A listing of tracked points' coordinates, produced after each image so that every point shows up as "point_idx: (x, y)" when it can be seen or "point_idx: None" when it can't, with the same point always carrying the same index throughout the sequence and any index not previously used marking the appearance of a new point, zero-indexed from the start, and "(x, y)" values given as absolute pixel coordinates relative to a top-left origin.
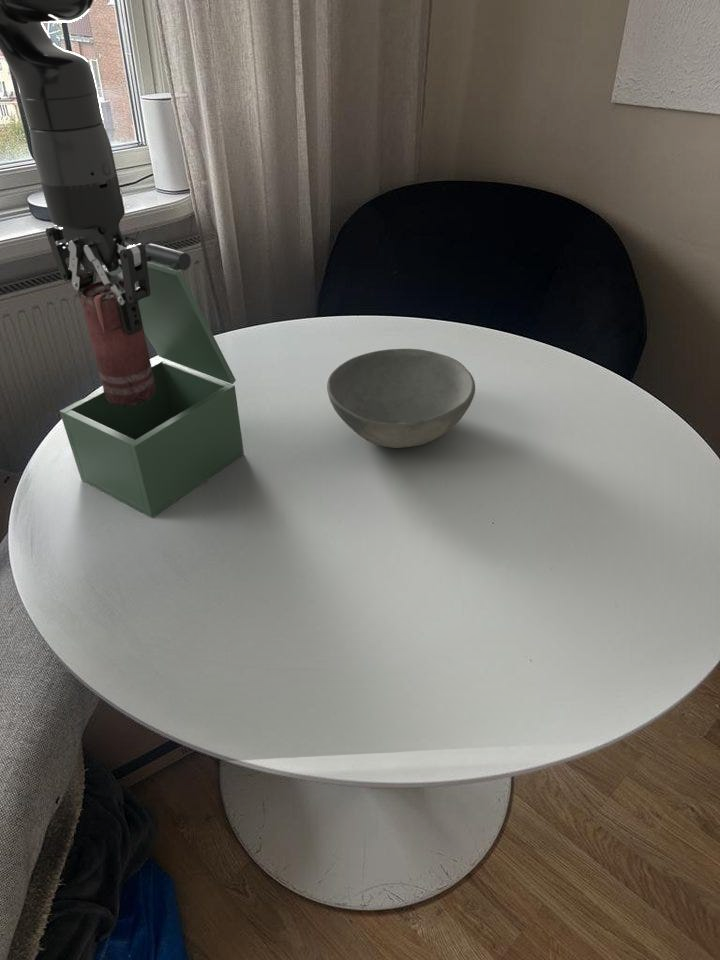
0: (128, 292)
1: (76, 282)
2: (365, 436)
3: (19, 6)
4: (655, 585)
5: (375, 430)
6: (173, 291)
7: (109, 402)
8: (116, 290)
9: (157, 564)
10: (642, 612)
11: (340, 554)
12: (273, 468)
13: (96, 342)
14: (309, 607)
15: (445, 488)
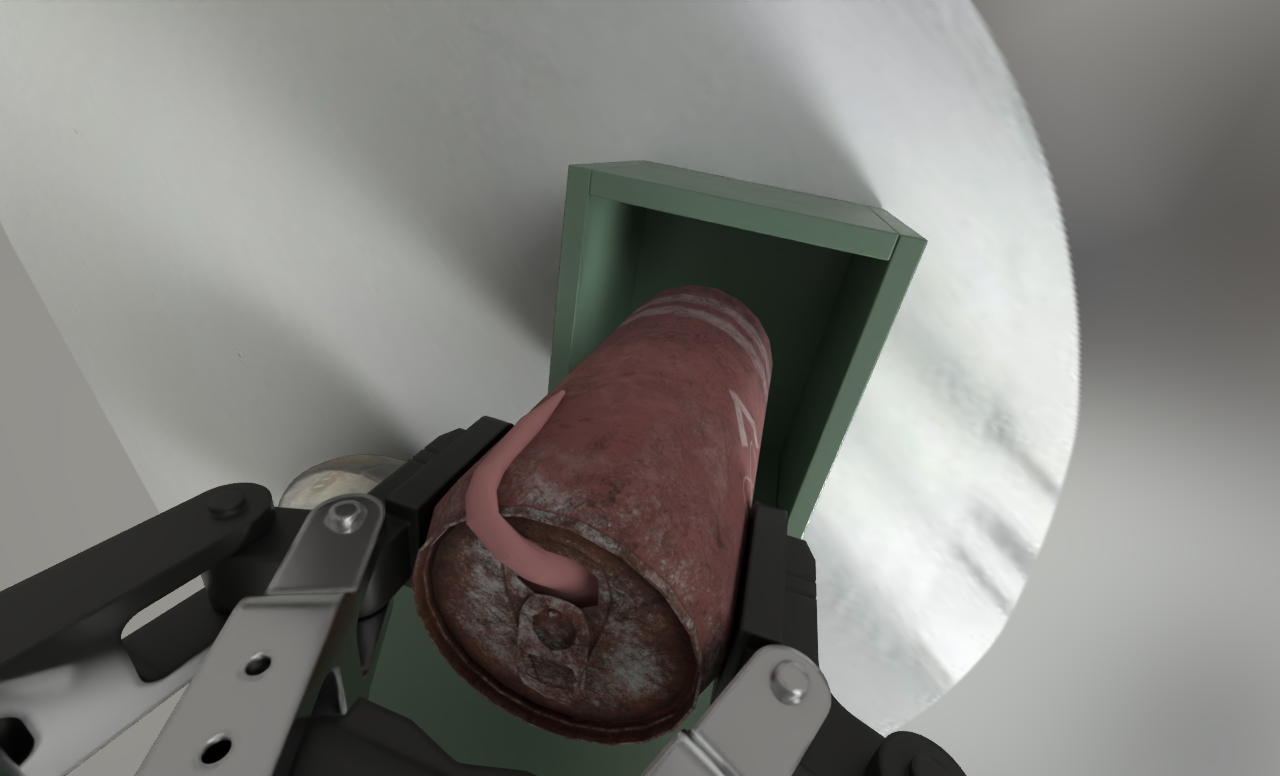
0: (185, 530)
1: (762, 697)
2: (398, 460)
3: None
4: (83, 309)
5: (356, 460)
6: (376, 674)
7: (835, 376)
8: (300, 561)
9: (546, 37)
10: (65, 262)
11: (330, 216)
12: (536, 380)
13: (652, 368)
14: (289, 79)
15: (317, 405)
